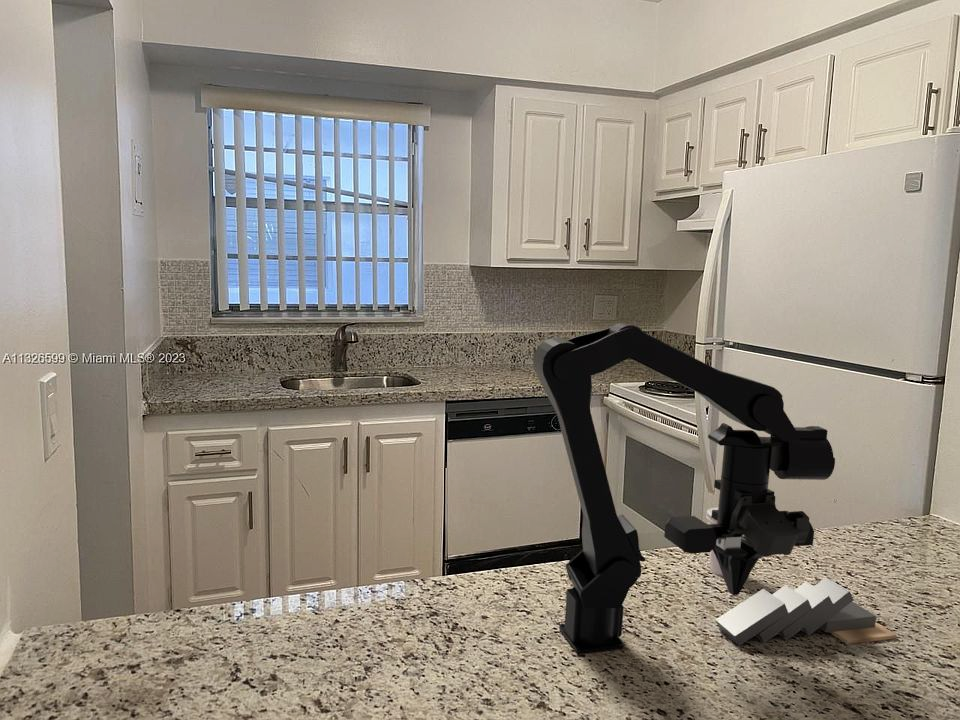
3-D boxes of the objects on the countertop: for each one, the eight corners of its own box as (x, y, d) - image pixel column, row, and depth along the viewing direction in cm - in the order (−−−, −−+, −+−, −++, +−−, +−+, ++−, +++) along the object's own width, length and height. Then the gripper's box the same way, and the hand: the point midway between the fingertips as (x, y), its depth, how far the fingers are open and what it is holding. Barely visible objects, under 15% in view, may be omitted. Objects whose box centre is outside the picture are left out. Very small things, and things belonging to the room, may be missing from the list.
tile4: (804, 626, 96) (849, 591, 97) (782, 611, 100) (825, 577, 101) (808, 635, 96) (853, 599, 97) (786, 620, 100) (829, 585, 101)
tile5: (827, 621, 96) (876, 616, 99) (804, 606, 101) (851, 601, 103) (826, 632, 97) (874, 627, 99) (803, 617, 101) (850, 612, 103)
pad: (846, 644, 95) (847, 640, 95) (799, 611, 103) (800, 608, 103) (896, 638, 97) (896, 634, 97) (845, 607, 106) (846, 604, 106)
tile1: (734, 636, 93) (784, 603, 94) (715, 619, 97) (763, 588, 98) (739, 645, 93) (788, 613, 95) (719, 629, 97) (767, 597, 99)
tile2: (759, 633, 94) (807, 599, 95) (739, 617, 98) (785, 584, 99) (764, 643, 94) (812, 608, 95) (743, 626, 98) (789, 593, 100)
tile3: (782, 631, 95) (828, 595, 96) (761, 615, 99) (806, 581, 100) (787, 640, 95) (833, 604, 96) (765, 623, 99) (810, 589, 101)
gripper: (717, 501, 82) (705, 630, 84) (852, 495, 87) (838, 617, 89) (667, 473, 93) (657, 589, 95) (790, 469, 98) (779, 578, 100)
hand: (733, 593), depth 95 cm, fingers closed
